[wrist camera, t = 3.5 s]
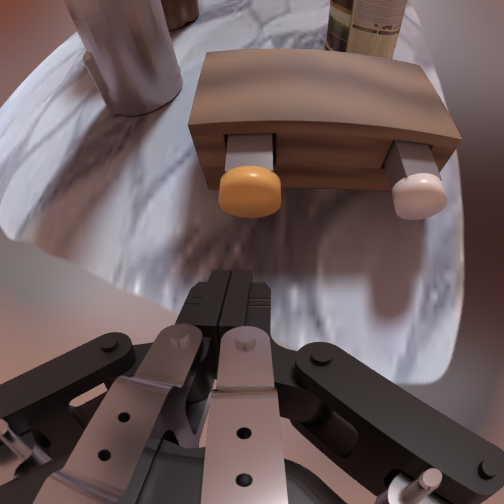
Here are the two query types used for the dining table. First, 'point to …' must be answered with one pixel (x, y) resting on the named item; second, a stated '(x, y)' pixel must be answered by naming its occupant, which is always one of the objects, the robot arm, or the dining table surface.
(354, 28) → the coffee can
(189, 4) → the plant pot
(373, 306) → the dining table surface
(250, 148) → the amber button
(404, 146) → the ivory button
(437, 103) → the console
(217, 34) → the dining table surface
